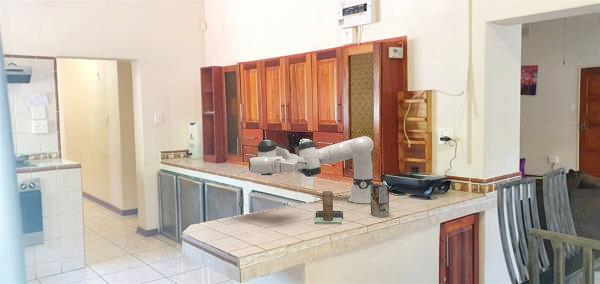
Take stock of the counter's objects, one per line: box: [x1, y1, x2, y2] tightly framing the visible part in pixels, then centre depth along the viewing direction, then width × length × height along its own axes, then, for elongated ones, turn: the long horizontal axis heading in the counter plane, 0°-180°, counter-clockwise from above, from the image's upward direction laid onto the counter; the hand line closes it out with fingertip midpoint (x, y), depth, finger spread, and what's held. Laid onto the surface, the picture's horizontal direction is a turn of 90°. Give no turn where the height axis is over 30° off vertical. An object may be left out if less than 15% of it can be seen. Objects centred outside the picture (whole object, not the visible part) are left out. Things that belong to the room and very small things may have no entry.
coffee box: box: [370, 183, 390, 218], centre depth 241 cm, size 9×6×16 cm
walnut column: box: [321, 190, 334, 221], centre depth 230 cm, size 5×5×14 cm
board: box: [314, 217, 343, 225], centre depth 230 cm, size 9×13×1 cm
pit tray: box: [315, 210, 344, 220], centre depth 239 cm, size 5×14×3 cm, turn 83°
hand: (306, 164), depth 234 cm, fingers open, 8 cm apart
